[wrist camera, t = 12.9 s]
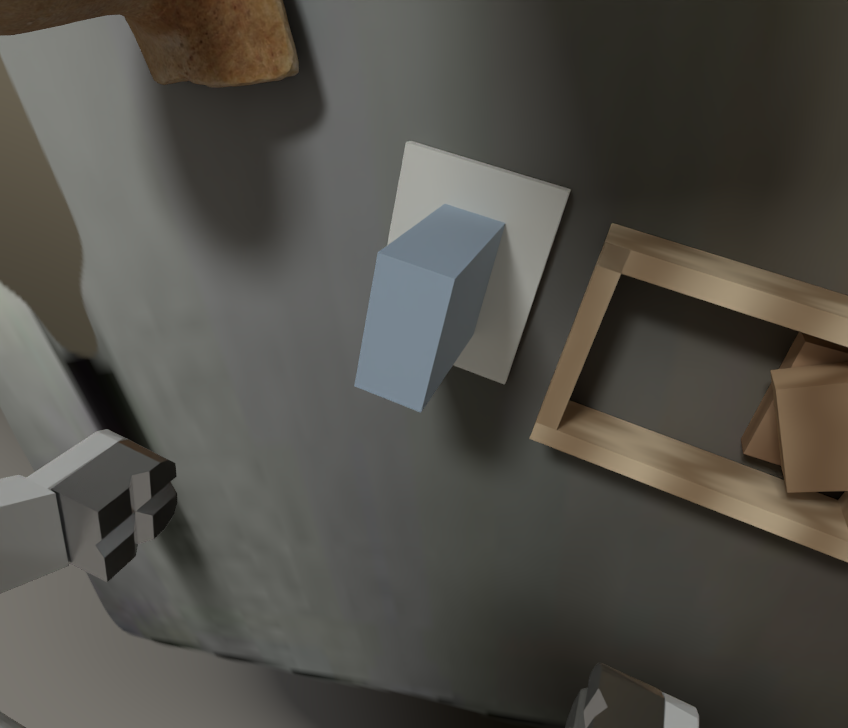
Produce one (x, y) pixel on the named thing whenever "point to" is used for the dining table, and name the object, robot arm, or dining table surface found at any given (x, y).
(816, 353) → the offcut lower
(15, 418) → the dining table surface
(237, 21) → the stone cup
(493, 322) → the mat
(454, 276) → the blue grey block
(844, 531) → the wooden tray
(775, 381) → the offcut upper
